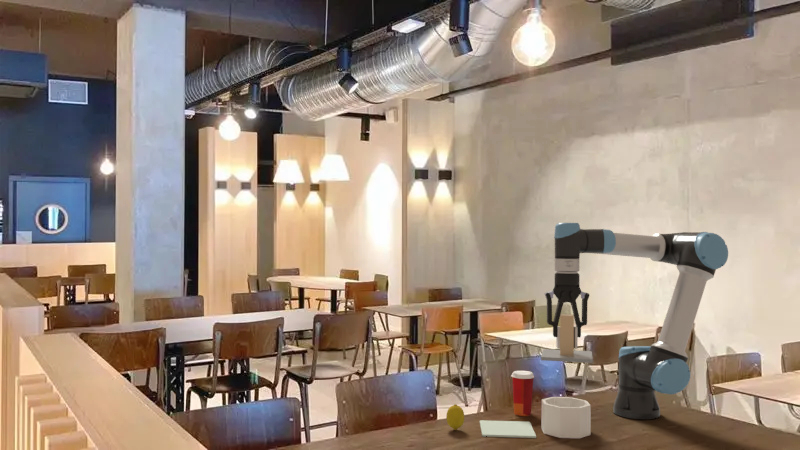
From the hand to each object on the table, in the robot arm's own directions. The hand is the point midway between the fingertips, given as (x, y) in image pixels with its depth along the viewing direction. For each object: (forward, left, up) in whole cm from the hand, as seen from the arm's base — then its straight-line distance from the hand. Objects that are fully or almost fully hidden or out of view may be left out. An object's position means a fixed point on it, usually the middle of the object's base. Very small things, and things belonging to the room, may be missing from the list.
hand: (566, 347), depth 215 cm
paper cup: (+11, -20, -26) cm, 35 cm away
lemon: (+34, +2, -26) cm, 43 cm away
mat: (+18, 0, -26) cm, 32 cm away
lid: (0, +1, -3) cm, 3 cm away
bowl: (0, 0, -26) cm, 26 cm away
